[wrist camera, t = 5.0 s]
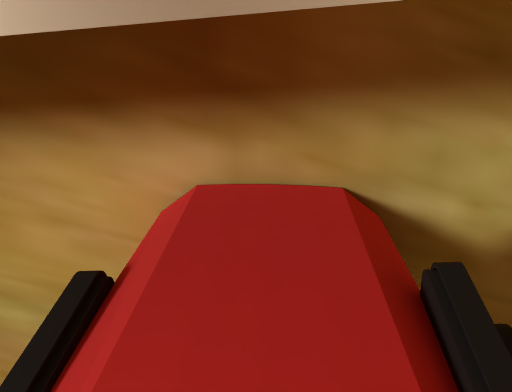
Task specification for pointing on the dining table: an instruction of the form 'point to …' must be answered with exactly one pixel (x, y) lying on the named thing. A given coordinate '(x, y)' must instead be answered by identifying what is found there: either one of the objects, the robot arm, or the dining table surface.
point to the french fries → (262, 302)
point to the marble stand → (135, 12)
